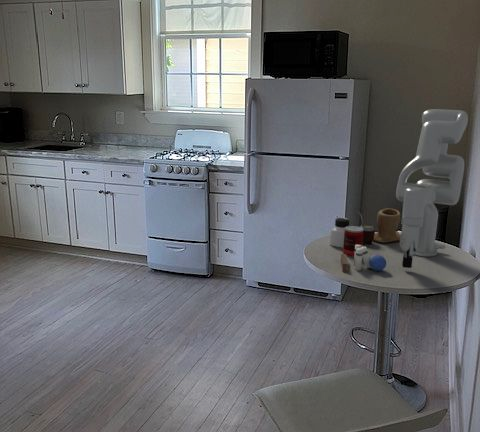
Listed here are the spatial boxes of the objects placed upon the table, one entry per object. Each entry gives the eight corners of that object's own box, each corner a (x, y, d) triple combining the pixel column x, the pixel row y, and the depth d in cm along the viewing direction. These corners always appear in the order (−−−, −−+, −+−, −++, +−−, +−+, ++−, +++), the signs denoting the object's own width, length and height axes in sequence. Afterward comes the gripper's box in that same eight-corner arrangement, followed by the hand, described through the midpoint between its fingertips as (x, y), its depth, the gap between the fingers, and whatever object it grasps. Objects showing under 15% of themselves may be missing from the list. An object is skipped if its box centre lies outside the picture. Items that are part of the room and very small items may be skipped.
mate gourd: (375, 242, 230) (378, 210, 227) (370, 246, 224) (373, 213, 220) (359, 239, 234) (362, 207, 231) (353, 243, 228) (356, 211, 224)
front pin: (370, 265, 199) (364, 246, 197) (372, 266, 196) (367, 247, 195) (364, 267, 198) (359, 248, 197) (367, 268, 196) (361, 249, 195)
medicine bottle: (345, 248, 221) (347, 221, 218) (329, 245, 224) (331, 219, 221) (350, 244, 227) (353, 218, 224) (335, 241, 230) (337, 215, 227)
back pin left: (359, 268, 197) (361, 248, 195) (362, 270, 194) (363, 250, 192) (353, 268, 196) (355, 248, 194) (355, 270, 194) (357, 250, 192)
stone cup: (382, 246, 225) (385, 213, 222) (365, 238, 236) (368, 207, 232) (409, 243, 231) (413, 211, 227) (392, 236, 242) (395, 205, 238)
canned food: (360, 251, 218) (362, 226, 215) (362, 257, 210) (364, 231, 207) (341, 250, 218) (343, 225, 216) (343, 256, 211) (345, 230, 208)
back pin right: (358, 263, 202) (360, 244, 200) (360, 266, 199) (362, 246, 197) (352, 263, 201) (354, 244, 199) (354, 266, 199) (356, 246, 197)
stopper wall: (345, 261, 204) (346, 254, 203) (347, 271, 193) (348, 264, 192) (340, 260, 204) (341, 253, 204) (342, 271, 193) (343, 263, 192)
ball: (366, 262, 198) (380, 266, 199) (369, 271, 193) (384, 275, 193) (372, 250, 195) (386, 254, 196) (375, 259, 190) (390, 262, 191)
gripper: (398, 215, 198) (393, 259, 203) (405, 225, 184) (400, 273, 189) (418, 216, 198) (412, 261, 202) (426, 226, 183) (421, 274, 188)
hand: (406, 266), depth 195 cm, fingers closed
